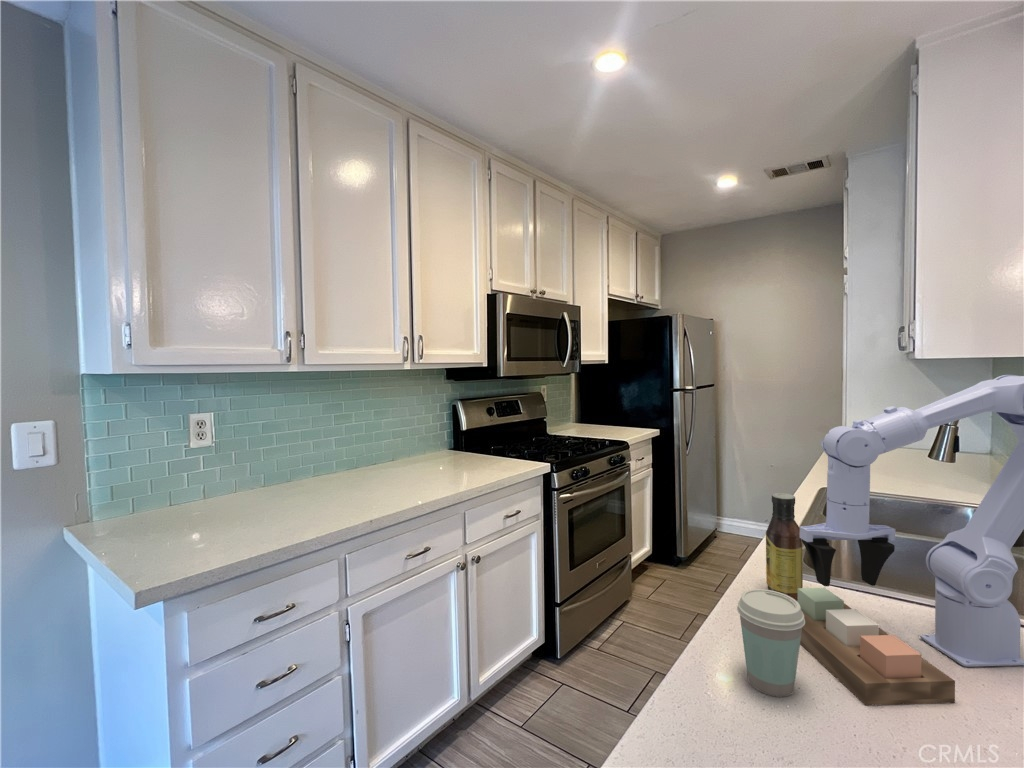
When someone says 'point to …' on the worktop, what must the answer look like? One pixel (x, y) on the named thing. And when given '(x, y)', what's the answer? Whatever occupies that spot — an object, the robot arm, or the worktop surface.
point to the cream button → (849, 626)
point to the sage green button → (818, 602)
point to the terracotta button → (890, 656)
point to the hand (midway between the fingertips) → (845, 583)
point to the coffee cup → (771, 639)
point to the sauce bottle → (784, 548)
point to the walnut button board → (873, 671)
